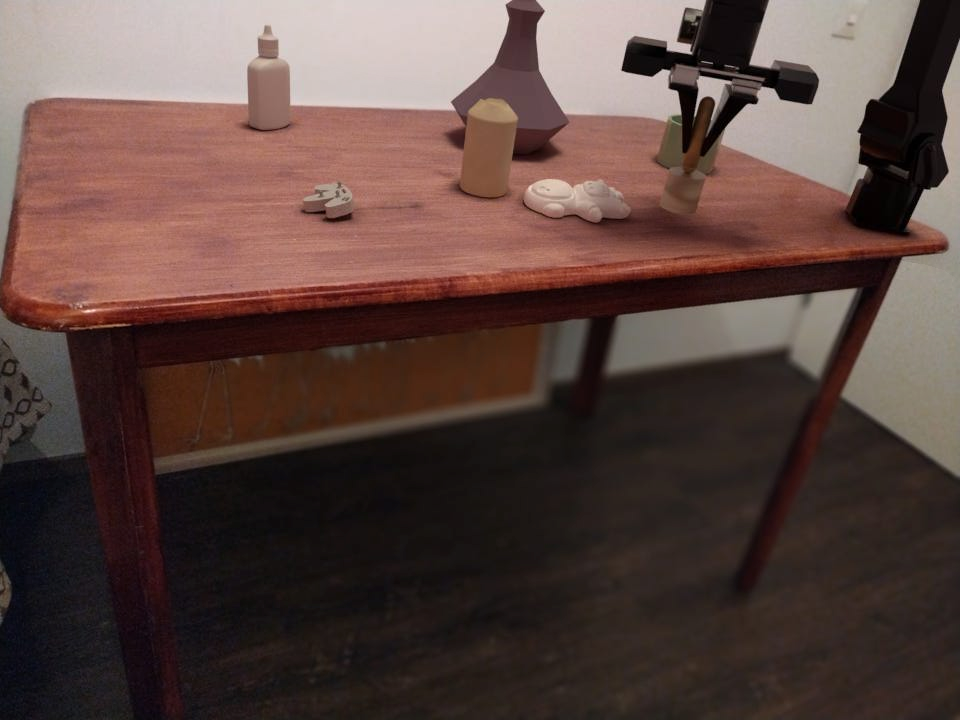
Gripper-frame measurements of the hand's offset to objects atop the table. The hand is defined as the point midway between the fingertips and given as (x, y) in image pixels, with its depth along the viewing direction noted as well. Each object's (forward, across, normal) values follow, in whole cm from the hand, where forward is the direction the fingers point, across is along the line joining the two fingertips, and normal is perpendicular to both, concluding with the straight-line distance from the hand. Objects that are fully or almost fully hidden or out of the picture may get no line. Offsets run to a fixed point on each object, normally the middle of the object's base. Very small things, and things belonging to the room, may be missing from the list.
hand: (693, 154), depth 78 cm
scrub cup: (+8, -2, -26) cm, 27 cm away
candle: (+8, +22, 0) cm, 23 cm away
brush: (+6, 0, 0) cm, 6 cm away
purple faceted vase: (+8, +23, -20) cm, 32 cm away
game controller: (+8, +32, +13) cm, 35 cm away
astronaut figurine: (+8, +11, 0) cm, 14 cm away
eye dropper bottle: (+8, +52, -8) cm, 53 cm away
